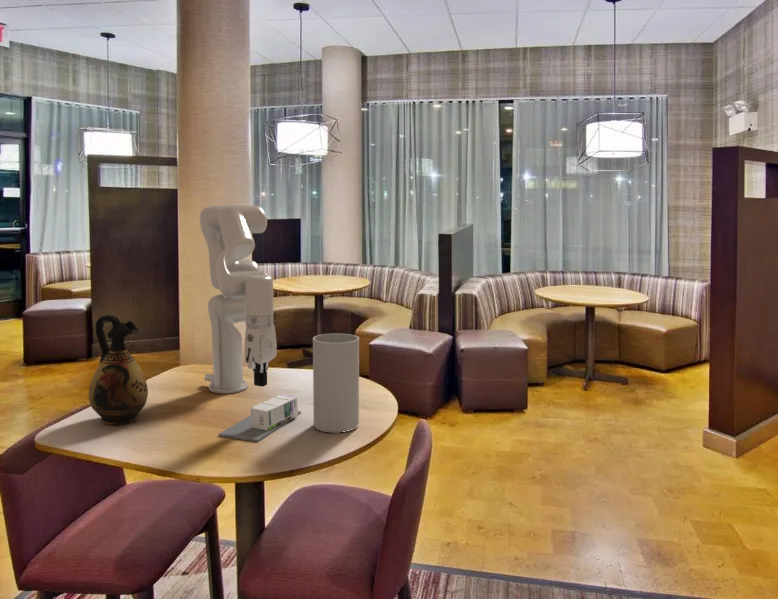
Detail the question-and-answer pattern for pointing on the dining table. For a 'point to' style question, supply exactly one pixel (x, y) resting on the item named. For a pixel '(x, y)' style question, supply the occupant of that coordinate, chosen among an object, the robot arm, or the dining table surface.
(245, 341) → the robot arm
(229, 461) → the dining table surface
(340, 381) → the cylinder vase
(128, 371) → the ceramic jug
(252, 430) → the slate mat
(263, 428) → the syrup box
